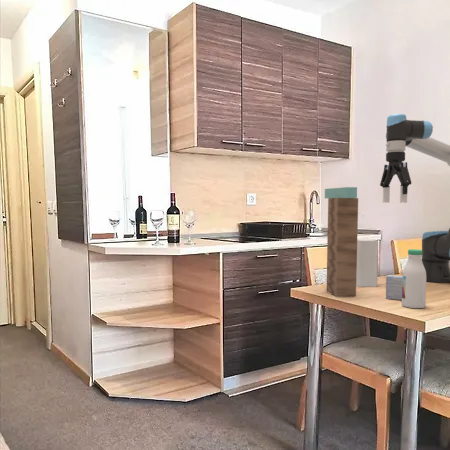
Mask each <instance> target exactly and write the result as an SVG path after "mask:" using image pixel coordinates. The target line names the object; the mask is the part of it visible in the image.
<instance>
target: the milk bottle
mask: <svg viewBox="0 0 450 450" xmlns="http://www.w3.org/2000/svg"><path fill="white" fill-rule="evenodd" d="M407 256H408V259H407V261H406V264H405V265H404V267H403V270H402V276H403V279H402V300H401V305H402V306H403V307H406V308H411V309H425V308H426V305H427V303H426V302H427V281H426V270H425V268H424V265H423V263H422V249H413V248H411V249H408V250H407Z"/></svg>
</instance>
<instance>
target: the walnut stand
mask: <svg viewBox="0 0 450 450" xmlns="http://www.w3.org/2000/svg"><path fill="white" fill-rule="evenodd" d="M327 199H328V200H327V239H326V240H327V243H326V244H327V245H326V246H327V248H326V251H327V252H326V253H327V254H326V260H327V261H326V291H327V293H328V292H329V294H330V293H331V294H330V295H332V294H333V296H334V297H336V298H340V297H343V298H344V297H345V298H346V297H356V296H357V286H356V273H357V239H358V228H359V227H358V224H359V223H358V221H359V216H358V215H359V198H358V197H357V198H327Z"/></svg>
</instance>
